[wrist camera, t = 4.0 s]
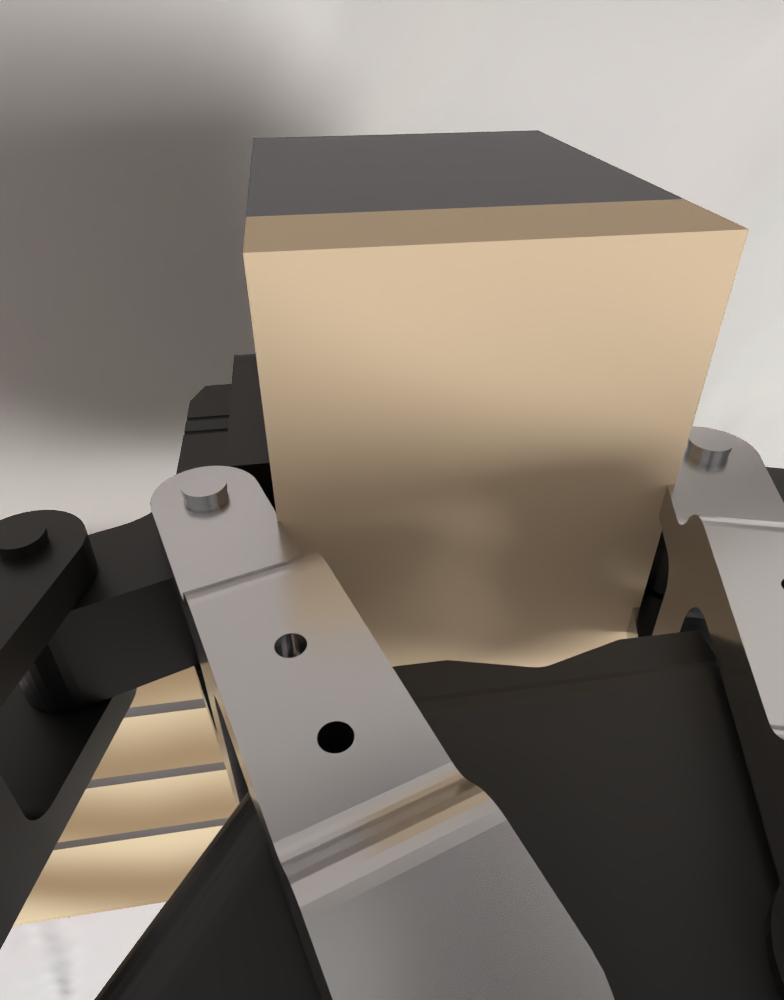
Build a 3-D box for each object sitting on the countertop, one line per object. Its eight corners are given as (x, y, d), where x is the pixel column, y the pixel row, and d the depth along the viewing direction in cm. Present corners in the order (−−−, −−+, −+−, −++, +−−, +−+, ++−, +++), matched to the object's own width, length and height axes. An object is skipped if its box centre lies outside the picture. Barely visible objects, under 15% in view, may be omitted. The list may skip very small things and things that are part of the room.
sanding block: (253, 138, 10) (243, 252, 6) (538, 131, 11) (749, 229, 6) (297, 543, 15) (312, 794, 10) (495, 524, 16) (597, 755, 11)
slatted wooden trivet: (-280, 583, 18) (-336, 639, 16) (271, 528, 19) (271, 574, 18) (-58, 883, 26) (-80, 940, 24) (312, 828, 28) (315, 878, 26)
